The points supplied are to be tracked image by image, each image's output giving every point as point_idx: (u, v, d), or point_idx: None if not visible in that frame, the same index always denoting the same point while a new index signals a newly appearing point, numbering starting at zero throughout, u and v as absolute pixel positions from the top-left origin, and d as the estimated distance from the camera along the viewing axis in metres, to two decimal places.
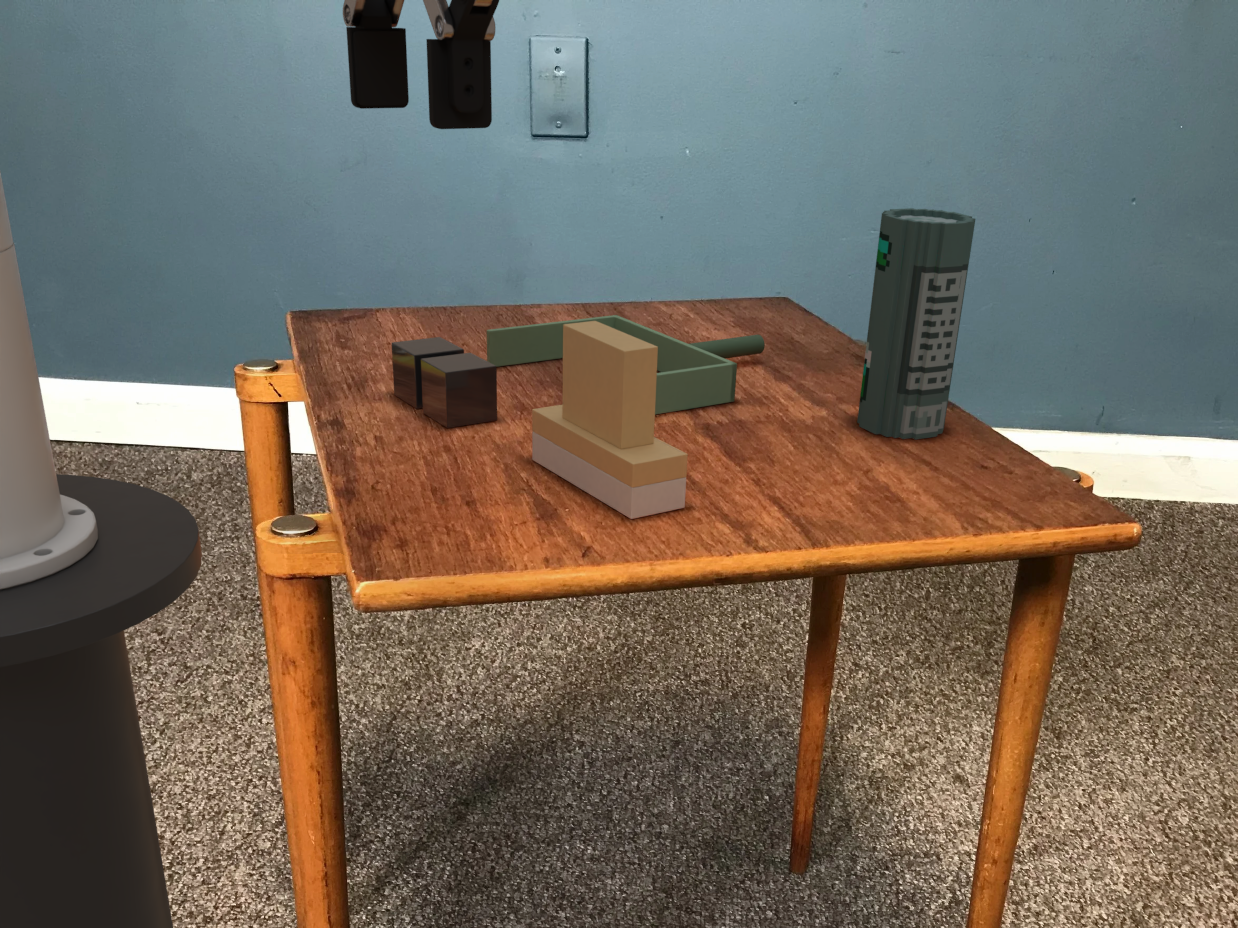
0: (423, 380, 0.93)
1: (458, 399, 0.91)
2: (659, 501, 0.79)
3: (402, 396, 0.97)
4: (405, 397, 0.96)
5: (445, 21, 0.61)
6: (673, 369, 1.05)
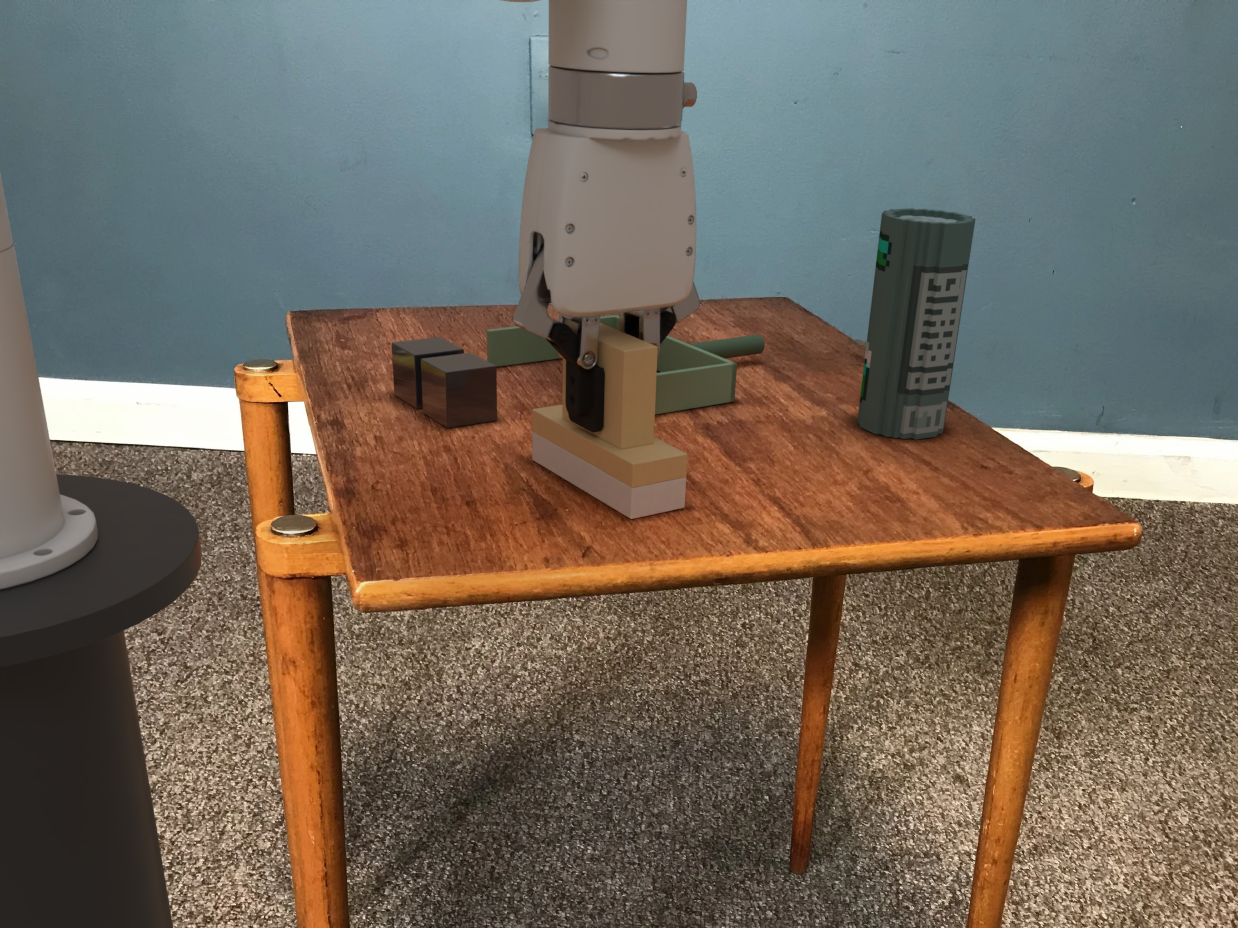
0: (423, 380, 0.93)
1: (458, 399, 0.91)
2: (659, 501, 0.79)
3: (402, 396, 0.97)
4: (405, 397, 0.96)
5: (558, 352, 0.79)
6: (673, 369, 1.05)
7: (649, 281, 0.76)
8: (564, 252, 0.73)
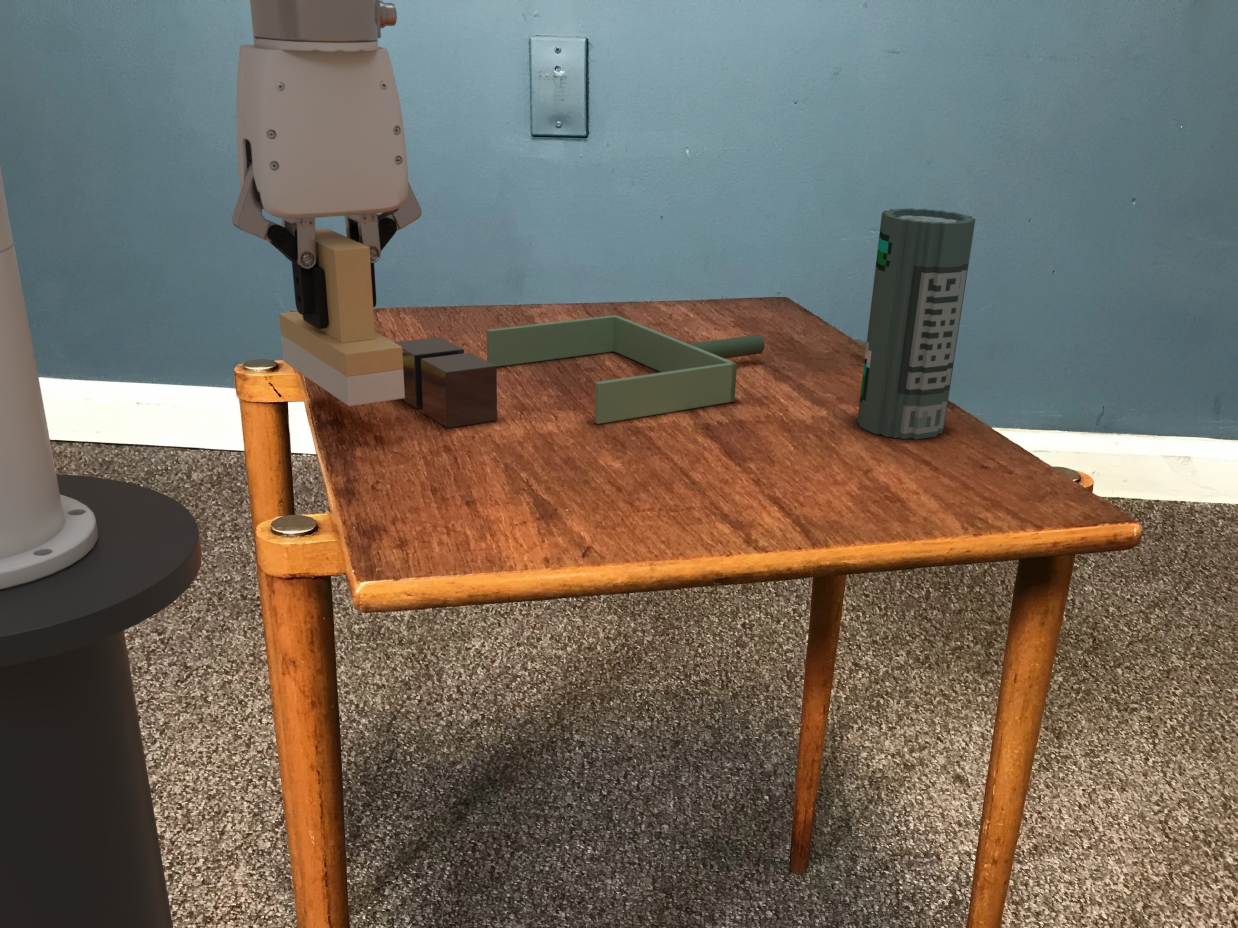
0: (423, 380, 0.93)
1: (458, 399, 0.91)
2: (376, 390, 0.86)
3: None
4: (405, 397, 0.96)
5: None
6: (673, 369, 1.05)
7: (359, 186, 0.84)
8: (268, 156, 0.80)
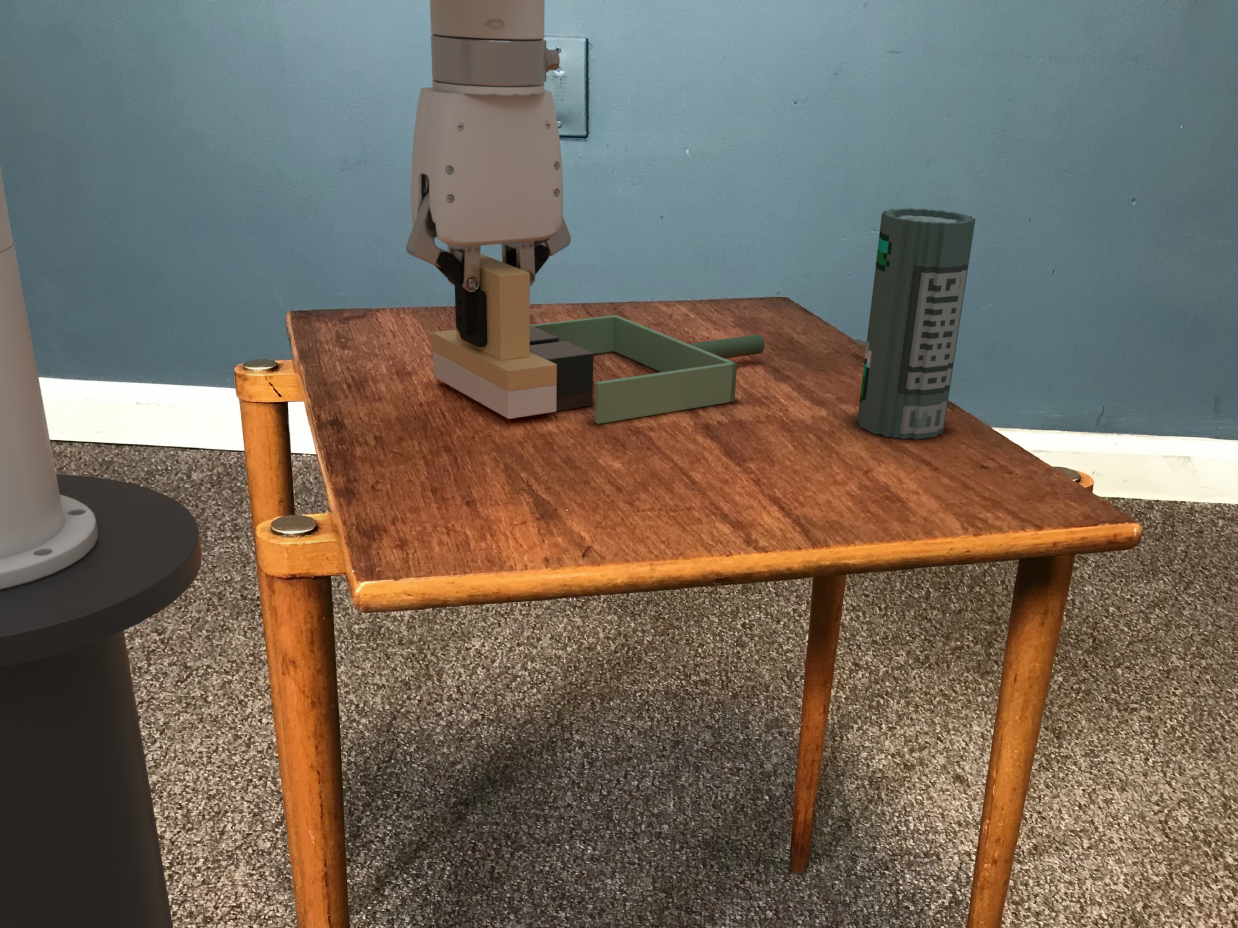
0: None
1: (558, 385, 0.95)
2: (532, 404, 0.93)
3: None
4: None
5: None
6: (673, 369, 1.05)
7: (521, 217, 0.91)
8: (445, 190, 0.87)
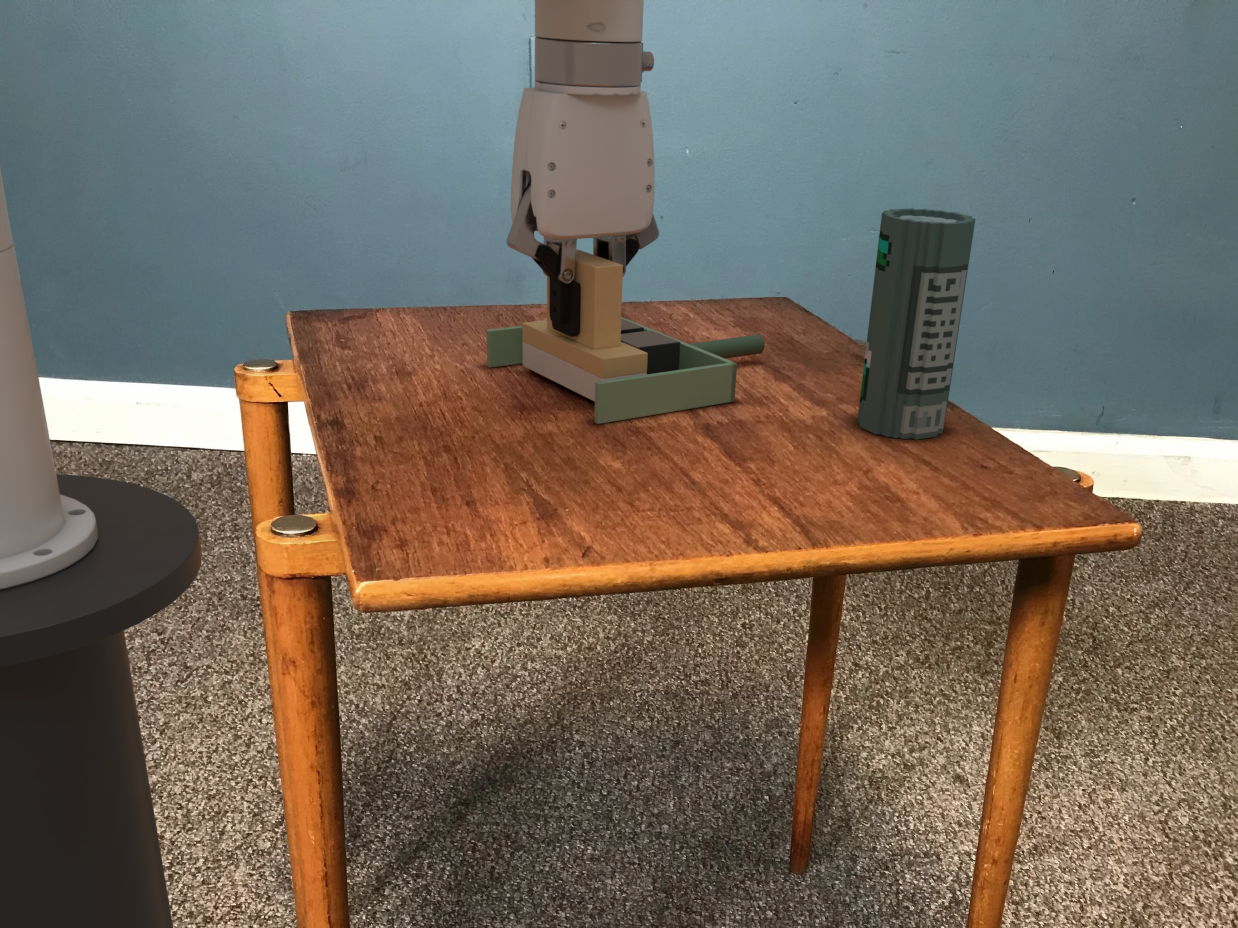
0: None
1: (646, 372, 0.99)
2: None
3: None
4: None
5: (543, 271, 0.97)
6: None
7: (616, 212, 0.95)
8: (547, 185, 0.91)
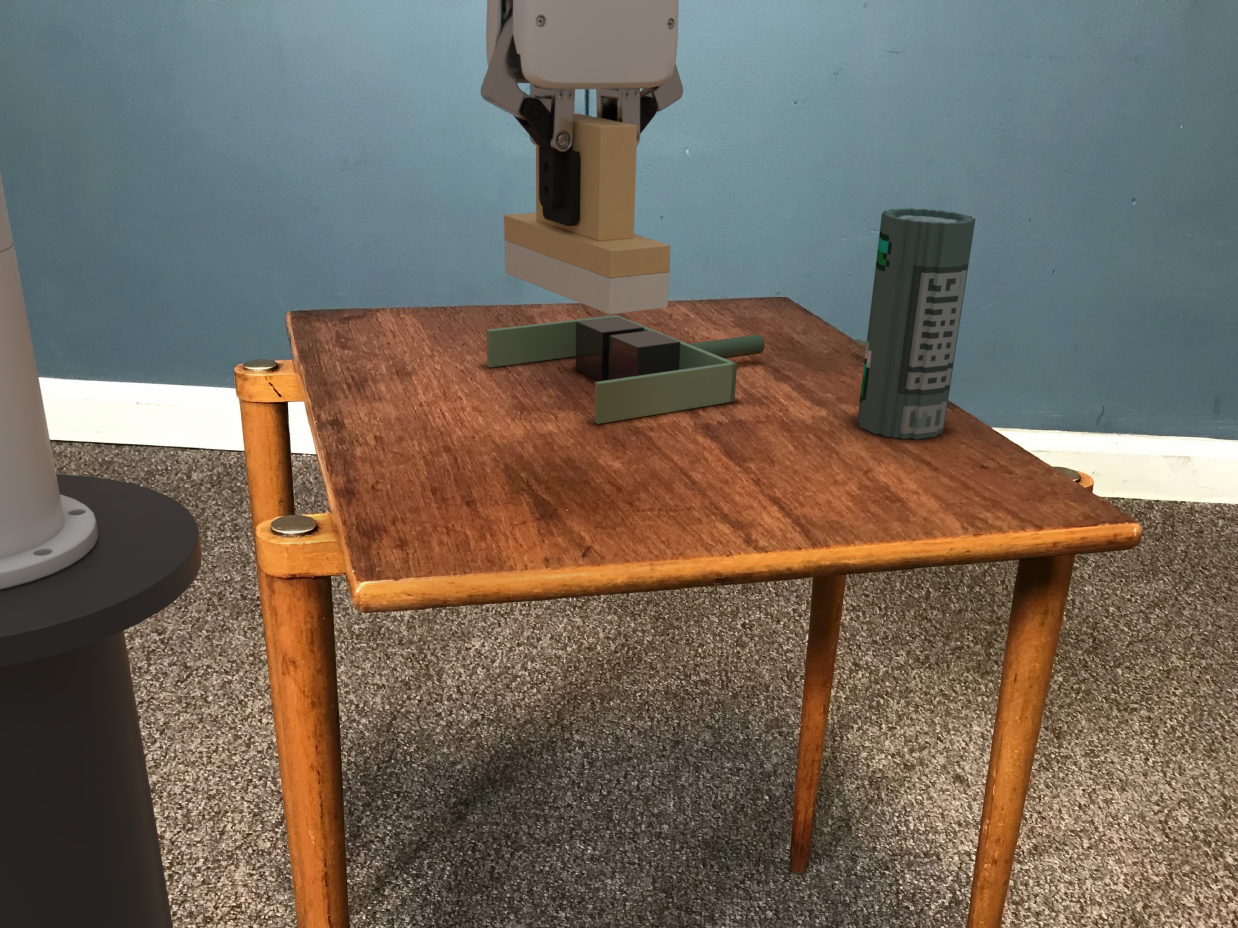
0: (611, 355, 1.01)
1: (647, 372, 0.99)
2: (640, 296, 0.73)
3: (585, 371, 1.05)
4: (588, 372, 1.05)
5: (530, 137, 0.73)
6: None
7: (628, 53, 0.71)
8: (534, 9, 0.67)
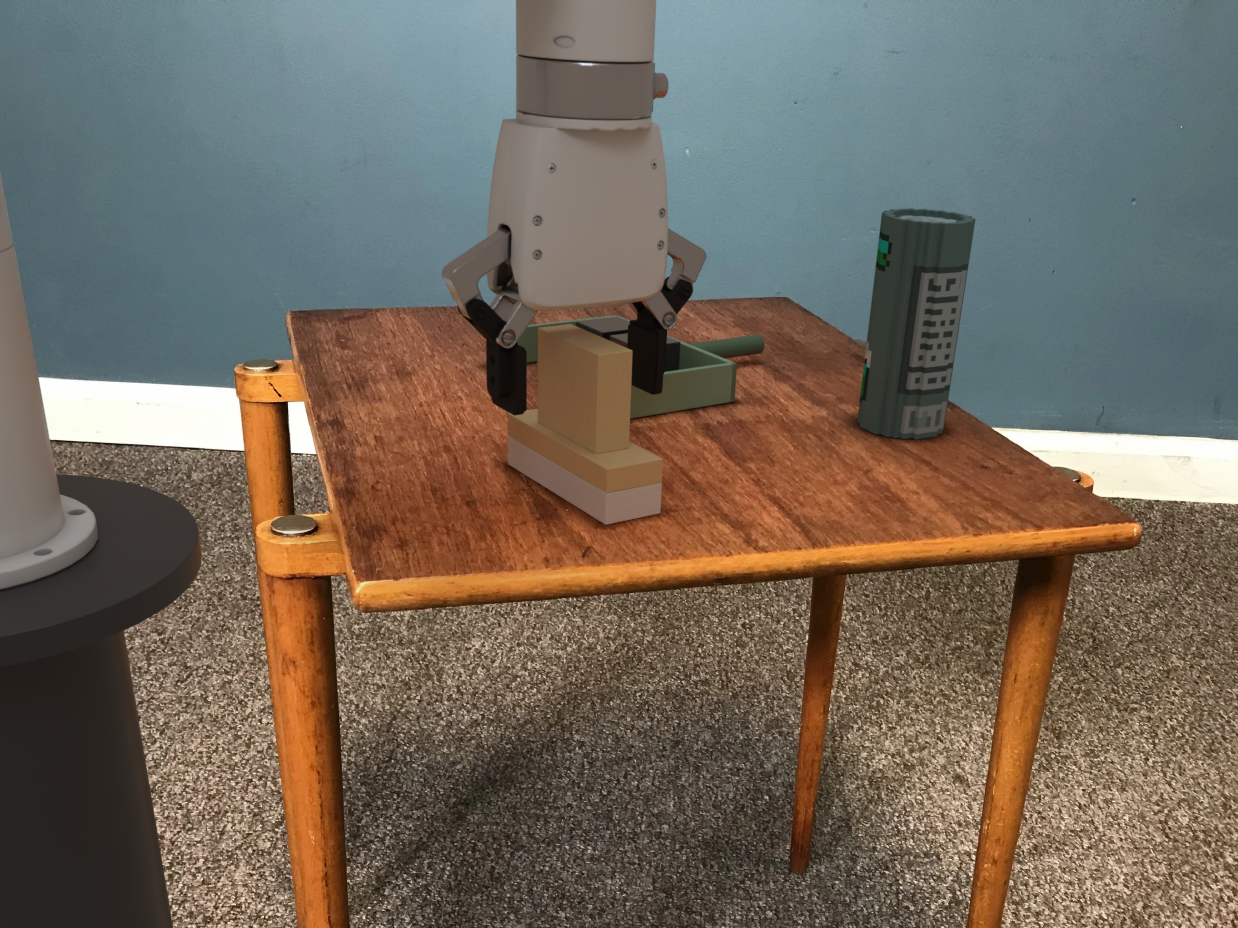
0: None
1: None
2: (634, 506, 0.78)
3: None
4: None
5: None
6: None
7: (619, 275, 0.75)
8: (531, 245, 0.71)
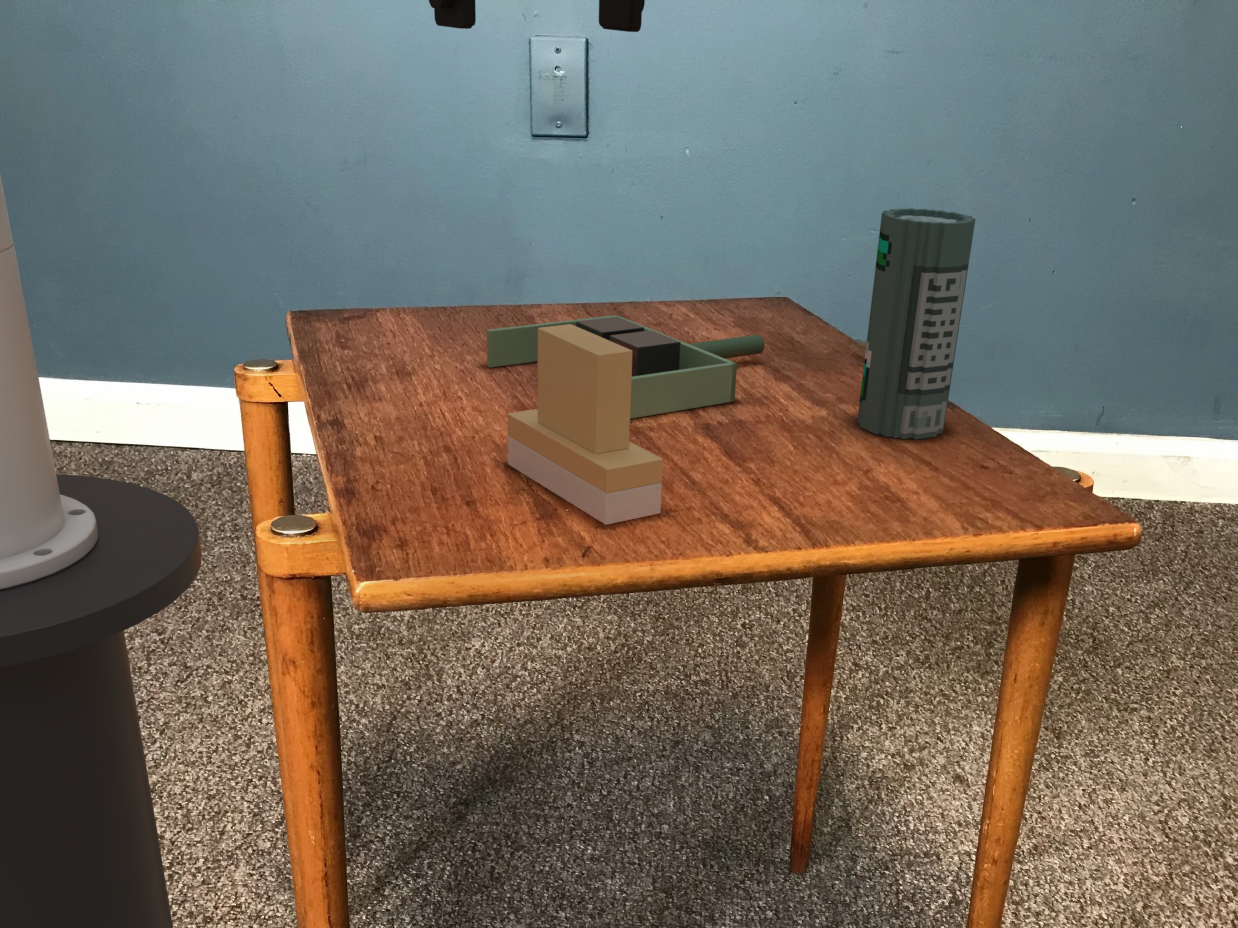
0: None
1: (647, 372, 0.99)
2: (634, 506, 0.78)
3: None
4: None
5: None
6: None
7: None
8: None
